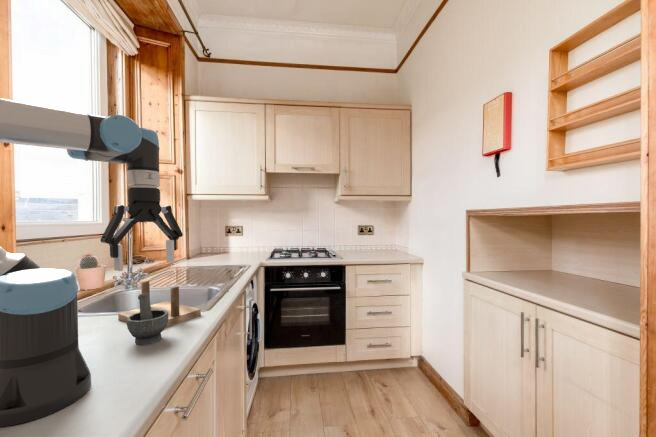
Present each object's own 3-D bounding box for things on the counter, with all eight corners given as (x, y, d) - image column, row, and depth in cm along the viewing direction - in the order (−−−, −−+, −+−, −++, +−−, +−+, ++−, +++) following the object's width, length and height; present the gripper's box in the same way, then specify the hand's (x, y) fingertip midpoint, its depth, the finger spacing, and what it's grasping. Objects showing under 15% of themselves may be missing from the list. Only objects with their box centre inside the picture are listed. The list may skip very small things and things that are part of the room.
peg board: (152, 331, 89) (151, 293, 89) (118, 319, 100) (117, 286, 99) (200, 315, 103) (199, 282, 103) (166, 306, 113) (165, 276, 113)
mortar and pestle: (172, 341, 82) (171, 296, 82) (131, 352, 76) (129, 303, 76) (162, 329, 90) (161, 289, 90) (124, 338, 84) (123, 295, 84)
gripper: (96, 183, 70) (99, 276, 70) (194, 189, 91) (196, 260, 92) (82, 185, 74) (85, 273, 74) (179, 190, 95) (180, 258, 96)
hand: (146, 266), depth 83 cm, fingers open, 13 cm apart
